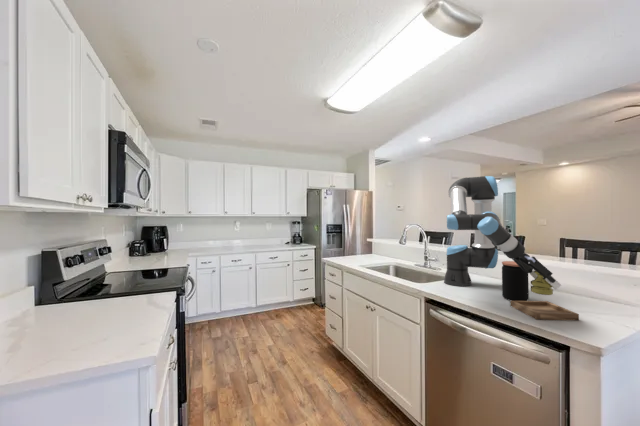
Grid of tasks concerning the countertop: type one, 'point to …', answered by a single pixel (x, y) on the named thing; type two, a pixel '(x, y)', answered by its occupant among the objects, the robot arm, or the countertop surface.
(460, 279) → the robot arm
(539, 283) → the olive green tiered piece
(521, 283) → the coffee jar
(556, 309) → the tray
